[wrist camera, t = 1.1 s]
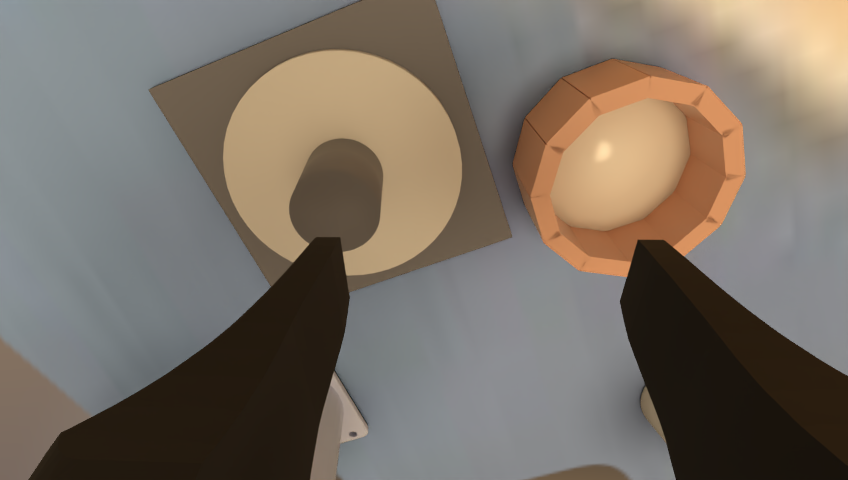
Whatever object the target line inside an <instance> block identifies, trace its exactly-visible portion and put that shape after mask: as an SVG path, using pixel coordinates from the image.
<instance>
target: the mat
mask: <svg viewBox="0 0 848 480" xmlns="http://www.w3.org/2000/svg"><path fill="white" fill-rule="evenodd" d="M324 49H349V50H359V51H363V52H367V53H371V54H375V55H378V56H380V57H383V58H386V59H388V60H391V61H393V62H394V63H396V64H398V65H400V66H402V67H403V68H405V69H407V70H408V71H409V72H411V73H412V74H414V75H415V76H416V77H418V78H419V79H420V80H421V81H422V82H423V83H424V84H425V85H426V86H427V87H428V88H429V89H430V90H431V91H432V92H433V93H434V95H435V96H436V97H437V98H438V100H439V101H440V102H441V104H442V106H443V107H444V109H445V111H446V112H447V114H448V116H449V118H450V120H451V123H452V125H453V127H454V130H455V133H456V136H457V140H458V144H459V147H460V153H461V160H462V181H461V187H460V193H459V197H458V200H457V203H456V206H455V209H454V211H453V213H452V215H451V218H450V219H449V221H448V223H447V224H446V226H445V227H444V229H443V230H442V232H441V233H440V234H439V235H438V236H437V238H436V239H435V240H434V241H433V242H432V243H431V244H430V245H429V246H428V247H427V248H426V249H425V250H423V251H422V252H420V253H419V254H418V255H416V256H415V257H413V258H412V259H410V260H408V261H406V262H404V263H403V264H400V265H398V266H396V267H393V268H391V269H388V270H384V271H381V272H377V273H371V274H365V275H349V276H348V275H346V277H347V283H348V290H349V292H351V291H354V290H357V289H360V288H363V287H366V286H369V285H372V284H375V283H378V282H381V281H384V280H387V279H390V278H393V277H396V276H399V275H402V274H405V273H408V272H411V271H413V270H416V269H419V268H422V267H425V266H428V265H431V264H434V263H437V262H440V261H443V260H446V259H449V258H452V257H455V256H458V255H461V254H464V253H467V252H470V251H473V250H476V249H479V248H482V247H485V246H488V245H491V244H494V243H496V242H499V241H502V240H505V239H508V238H511V237H512V234H511V231H510V228H509V225H508V222H507V219H506V216H505V213H504V210H503V207H502V204H501V200H500V197H499V194H498V191H497V188H496V185H495V182H494V179H493V176H492V173H491V170H490V167H489V164H488V161H487V158H486V155H485V151H484V148H483V145H482V142H481V139H480V136H479V133H478V130H477V127H476V124H475V121H474V118H473V115H472V112H471V109H470V106H469V102H468V99H467V96H466V93H465V90H464V87H463V84H462V81H461V78H460V75H459V72H458V69H457V66H456V63H455V60H454V57H453V54H452V50H451V47H450V44H449V41H448V38H447V35H446V32H445V29H444V26H443V23H442V20H441V17H440V14H439V11H438V8H437V5H436V1H435V0H361V1H359V2H356V3H354V4H352V5H349V6H347V7H344V8H342V9H340V10H337V11H335V12H332V13H330V14H328V15H325V16H323V17H320V18H318V19H316V20H313V21H311V22H308V23H306V24H304V25H301V26H299V27H297V28H294V29H292V30H289V31H287V32H285V33H282V34H280V35H277V36H275V37H273V38H270V39H268V40H265V41H263V42H261V43H258V44H256V45H254V46H251V47H249V48H246V49H244V50H242V51H239V52H237V53H234V54H232V55H230V56H227V57H225V58H222V59H220V60H218V61H215V62H213V63H211V64H208V65H206V66H203V67H201V68H199V69H196V70H194V71H191V72H189V73H187V74H184V75H182V76H179V77H177V78H175V79H172V80H170V81H168V82H165V83H163V84H160V85H158V86H156V87H153V88H151V89H149V92H150V93H151V95H152V97H153V98H154V100H155V101H156V103H157V105H158V106H159V108H160V109H161V111H162V113H163V114H164V116H165V117H166V119H167V121H168V122H169V124H170V125H171V127H172V129H173V130H174V132H175V133H176V135H177V137H178V138H179V140H180V141H181V143H182V145H183V146H184V148H185V149H186V151H187V153H188V154H189V156H190V157H191V159H192V161H193V162H194V164H195V165H196V167H197V169H198V170H199V172H200V173H201V175H202V177H203V178H204V180H205V181H206V183H207V185H208V186H209V188H210V190H211V191H212V193H213V194H214V196H215V198H216V199H217V201H218V202H219V204H220V206H221V207H222V209H223V210H224V212H225V214H226V215H227V217H228V218H229V220H230V222H231V223H232V225H233V226H234V228H235V230H236V231H237V233H238V234H239V236H240V238H241V239H242V241H243V242H244V244H245V246H246V247H247V249H248V250H249V252H250V254H251V255H252V257H253V258H254V260H255V262H256V263H257V265H258V266H259V268H260V270H261V271H262V273H263V274H264V276H265V278H266V279H267V281H268V282H269V284H270V286H272V285H273V284H274V283H275V282H276V281H277V280H278V279H279V278H280V277H281V276H282V275H283V274H284V272H285V271H286V270H287V269H288V268H289V267H290V266H291V265H292V263H293V262H291V261H289V260H287V259H286V258H284V257H282V256H280V255H279V254H277V253H276V252H275V251H273V250H272V249H270V248H269V247H268V246H267V245H265V244H264V243H263V242H262V241H261V240H260V239H259V238H258V237H257V236H256V235H255V234H254V233H253V232H252V231H251V230H250V228H249V227H248V226H247V225H246V223H245V222H244V220H243V219H242V217H241V216H240V214H239V213H238V211H237V209H236V207H235V205H234V203H233V201H232V198H231V196H230V193H229V190H228V188H227V183H226V179H225V174H224V164H223V150H224V140H225V136H226V131H227V127H228V124H229V122H230V119H231V116H232V114H233V112H234V110H235V108H236V107H237V105H238V103H239V101H240V100H241V99H242V97H243V96H244V95H245V93H246V92H247V91H248V89H249V88H250V87H251V86H252V85H253V84H254V83H256V82H257V81H258V80H259V79H260V78H261V77H262V76H263V75H264V74H266V73H267V72H268V71H270V70H271V69H273V68H274V67H276V66H277V65H278V64H280V63H282V62H284V61H286V60H288V59H290V58H292V57H295V56H298V55H301V54H304V53H308V52H312V51H318V50H324Z"/></svg>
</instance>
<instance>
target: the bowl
mask: <svg viewBox="0 0 848 480" xmlns="http://www.w3.org/2000/svg"><path fill="white" fill-rule="evenodd" d="M513 169H514V172H515V175H516V178H517V182H518V185H519V188H520V192H521V195H522V198H523V202H524V205H525V207H526V209H527V211H528V213H529V215H530V217H531V219H532V221H533V223H534V225H535V226H536V228H537V230H538V232H539V234H540V236H541V238H542V240H543V242H544V243H545V244H546V245H547V246H548V247H550V248H551V249H552V250H553V251H555V252H556V253H557V254H558V255H560V256H561V257H562V258H564V259H565V260H566V261H567V262H569V263H570V264H571V265H572V266H574V267H575V268H576V269H578V270H580V271H585V272H592V273H600V274H608V275H616V276H624V277H627V275H628V272H629V268H630V265H631V261H632V258H633V254H634V251H635V247H636V244H637V240H665V241H666V242H667V243H669V244H670V245H671V246H672V247H673V248H675V249H676V250H677V251H678V252H679V253H681V254H682V255H683V256H685V255H686V254H687V253H688V252H689V251H691V250H692V249H693V248H694V247H695V246H697V245H698V244H699V243H700V242H701V241H703V240H704V239H705V238H706V237H707V236H709V235H710V234H711V233H712V232H713V231H715V230H716V229H717V228H718V227H719V226H721V225H720V224H722V222H723V220H724V218H725V216H726V214H727V212H728V210H729V208H730V206H731V204H732V202H733V200H734V198H735V196H736V194H737V192H738V190H739V188H740V186H741V184H742V182H743V180H744V178H745V176H744V175H746V173H745V158H744V143H743V129H742V123H741V122H740V121H739V120H738V119H737V118H736V117H735V116H734V115H733V113H732V112H731V111H730V110H729V109H728V108H727V107H726V106H725V105H724V103H723V102H722V101H721V100H720V99H719V98H718V97H717V96H716V95H715V94H714V92H713V91H712V90H711V89H710V88H709V87H708V86H706V85H703V84H701V83H698V82H696V81H694V80H691V79H689V78H686V77H684V76H681V75H679V74H676V73H674V72H671V71H669V70H666V69H664V68H661V67H657V66H651V65H645V64H640V63H634V62H629V61H623V60H618V59H610V60H607V61H605V62H602V63H599V64H597V65H594V66H591V67H589V68H586V69H583V70H581V71H578V72H575V73H573V74H570V75H567V76H565V77H562V79H560V80H559V81H558V82H557V83H556V84H555V85H554V86H553V87H552V88H551V90H550V91H549V92H548V93H547V94H546V95H545V96H544V97H543V98H542V99H541V101H540V102H539V103H538V104H537V105H536V106H535V107H534V108H533V109H532V110H531V111H530V113H529V114H528V115H527V116H526V117H525V119H524V122H523V126H522V130H521V134H520V138H519V141H518V145H517V149H516V153H515V157H514V160H513Z"/></svg>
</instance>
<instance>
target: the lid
mask: <svg viewBox="0 0 848 480" xmlns="http://www.w3.org/2000/svg"><path fill="white" fill-rule="evenodd" d="M223 164H224V174H225V179H226V183H227V188H228V190H229V193H230V196H231V198H232V201H233V203H234V205H235V207H236V209H237V211H238V213H239V214H240V216H241V217H242V219H243V220H244V222H245V223H246V225H247V226H248V227H249V228H250V230H251V231H252V232H253V233H254V234H255V235H256V236H257V237H258V238H259V239H260V240H261V241H262V242H263V243H264V244H265V245H267V246H268V247H269V248H270V249H272V250H273V251H275V252H276V253H277V254H279V255H280V256H282V257H284V258H286V259H287V260H289V261H291V262H294V261H295V260H296V259H297V258H298V257H299V255H300V254H301V253H302V252H303V251H304V250H305V248H306V247H307V246H308V245H309V244H310V243H311V241H312V240H313V239H314V238H316V237H340V238H341V245H342V251H343V258H344V264H345V271H346V275H348V276H349V275H365V274H371V273H377V272H381V271H384V270H388V269H391V268H393V267H396V266H398V265H400V264H403V263H404V262H406V261H408V260H410V259H412V258H413V257H415V256H416V255H418V254H419V253H420V252H422V251H423V250H425V249H426V248H427V247H428V246H429V245H430V244H431V243H432V242H433V241H434V240H435V239H436V238H437V236H438V235H439V234H440V233H441V232H442V230H443V229H444V227H445V226H446V224H447V223H448V221H449V219H450V218H451V215H452V213H453V211H454V209H455V206H456V203H457V200H458V197H459V193H460V187H461V181H462V160H461V153H460V147H459V144H458V140H457V136H456V133H455V130H454V127H453V125H452V123H451V120H450V118H449V116H448V114H447V112H446V111H445V109H444V107H443V106H442V104H441V102H440V101H439V100H438V98H437V97H436V96H435V95H434V93H433V92H432V91H431V90H430V89H429V88H428V87H427V86H426V85H425V84H424V83H423V82H422V81H421V80H420V79H419V78H418V77H416V76H415V75H414V74H412V73H411V72H409V71H408V70H407V69H405V68H403V67H402V66H400V65H398V64H396V63H394V62H393V61H391V60H388V59H386V58H383V57H380V56H378V55H375V54H371V53H367V52H363V51H359V50H349V49H324V50H318V51H312V52H308V53H304V54H301V55H298V56H295V57H292V58H290V59H288V60H286V61H284V62H282V63H280V64H278V65H277V66H276V67H274V68H273V69H271V70H270V71H268V72H267V73H266V74H264V75H263V76H262V77H261V78H260V79H259V80H258V81H257V82H256V83H254V84H253V85H252V86H251V87H250V88H249V89H248V91H247V92H246V93H245V95H244V96H243V97H242V99H241V100H240V101H239V103H238V105H237V107H236V108H235V110H234V112H233V114H232V116H231V119H230V122H229V124H228V127H227V131H226V136H225V140H224V150H223Z"/></svg>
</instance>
